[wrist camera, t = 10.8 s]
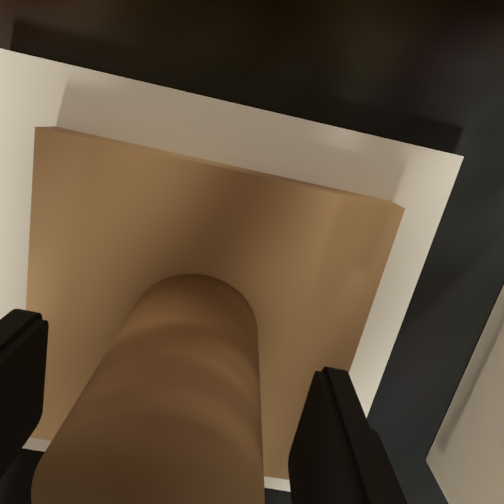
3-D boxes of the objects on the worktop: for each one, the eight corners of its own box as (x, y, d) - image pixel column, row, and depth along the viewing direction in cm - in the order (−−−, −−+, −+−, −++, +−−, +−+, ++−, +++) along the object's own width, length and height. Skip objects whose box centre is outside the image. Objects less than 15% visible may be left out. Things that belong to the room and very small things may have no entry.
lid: (390, 200, 13) (561, 295, 6) (306, 457, 16) (351, 717, 9) (55, 126, 12) (-212, 132, 5) (37, 411, 15) (-143, 657, 8)
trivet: (451, 154, 13) (464, 156, 12) (332, 482, 17) (336, 499, 16) (8, 51, 12) (-8, 46, 11) (-3, 427, 16) (-15, 442, 15)
